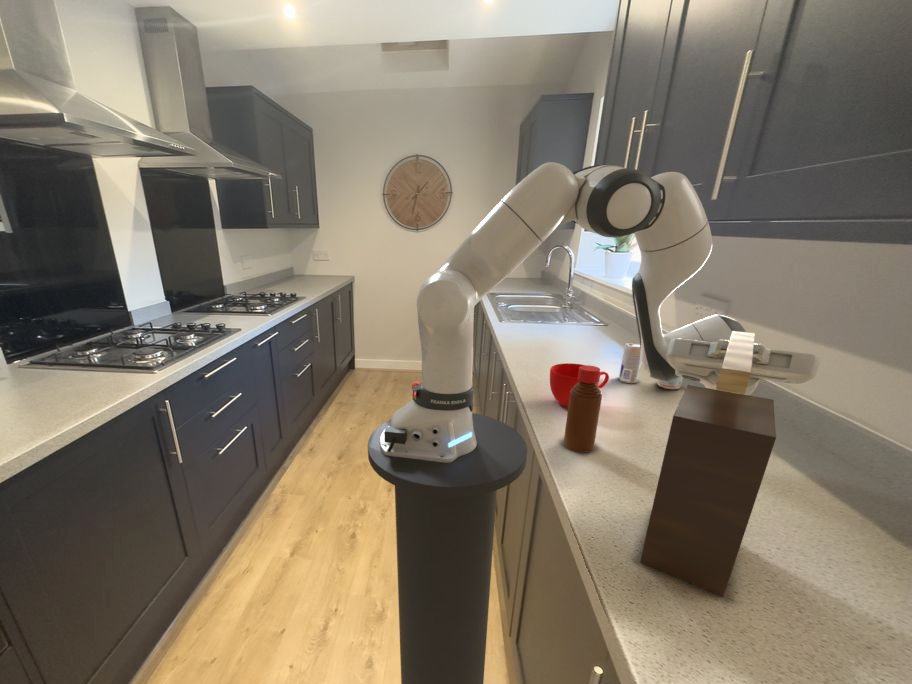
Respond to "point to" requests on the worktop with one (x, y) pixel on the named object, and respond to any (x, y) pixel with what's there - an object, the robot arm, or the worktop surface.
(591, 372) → the cap
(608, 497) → the worktop surface
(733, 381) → the bar
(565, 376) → the ceramic cup
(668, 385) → the pill bottle
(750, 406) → the pedestal
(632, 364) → the energy drink
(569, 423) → the bottle
